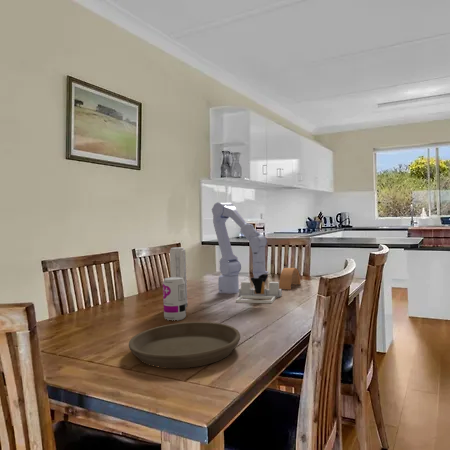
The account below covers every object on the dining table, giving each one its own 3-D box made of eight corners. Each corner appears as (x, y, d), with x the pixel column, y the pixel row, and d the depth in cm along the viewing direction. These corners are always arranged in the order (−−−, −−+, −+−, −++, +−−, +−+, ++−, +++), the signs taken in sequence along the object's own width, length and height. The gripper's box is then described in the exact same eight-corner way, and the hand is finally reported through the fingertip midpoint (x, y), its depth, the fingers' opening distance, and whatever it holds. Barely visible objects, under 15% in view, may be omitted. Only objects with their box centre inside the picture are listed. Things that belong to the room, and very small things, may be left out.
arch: (300, 284, 212) (300, 265, 212) (290, 291, 194) (289, 270, 193) (290, 284, 214) (289, 265, 214) (278, 291, 196) (278, 270, 196)
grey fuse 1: (241, 295, 184) (240, 282, 184) (242, 294, 186) (242, 281, 186) (249, 295, 183) (249, 282, 183) (251, 294, 185) (250, 281, 185)
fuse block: (237, 298, 182) (237, 290, 182) (241, 295, 189) (241, 287, 189) (280, 299, 176) (279, 291, 176) (282, 296, 183) (282, 288, 183)
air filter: (190, 305, 170) (187, 246, 170) (182, 309, 165) (179, 248, 164) (177, 304, 173) (174, 246, 173) (168, 308, 167) (166, 248, 167)
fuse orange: (255, 295, 182) (254, 282, 182) (256, 294, 184) (256, 281, 184) (263, 295, 181) (263, 282, 181) (265, 294, 183) (264, 281, 183)
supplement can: (168, 322, 144) (166, 280, 144) (161, 317, 152) (159, 278, 151) (189, 319, 148) (187, 278, 148) (181, 314, 155) (179, 275, 155)
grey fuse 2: (269, 296, 180) (268, 282, 180) (270, 294, 182) (270, 281, 182) (278, 296, 179) (277, 282, 179) (279, 295, 181) (278, 281, 181)
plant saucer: (105, 366, 104) (104, 348, 104) (164, 332, 133) (163, 318, 133) (216, 379, 93) (215, 359, 93) (254, 339, 122) (254, 324, 122)
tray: (236, 304, 170) (235, 299, 170) (241, 299, 179) (241, 295, 179) (271, 305, 165) (271, 300, 165) (275, 300, 174) (275, 296, 174)
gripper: (264, 263, 174) (265, 295, 174) (270, 260, 188) (271, 288, 188) (248, 263, 176) (249, 294, 176) (255, 260, 190) (257, 288, 190)
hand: (260, 291), depth 183 cm, fingers open, 7 cm apart
